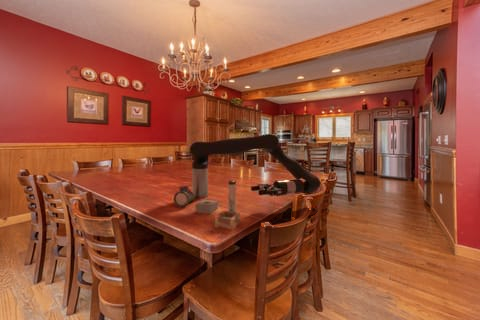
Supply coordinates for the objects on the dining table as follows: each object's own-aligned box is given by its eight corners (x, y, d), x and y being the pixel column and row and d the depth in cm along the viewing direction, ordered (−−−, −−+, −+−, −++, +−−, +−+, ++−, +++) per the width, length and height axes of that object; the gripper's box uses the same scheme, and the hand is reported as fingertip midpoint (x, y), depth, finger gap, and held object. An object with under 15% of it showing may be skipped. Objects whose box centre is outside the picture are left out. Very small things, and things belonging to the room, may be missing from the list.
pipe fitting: (187, 207, 108) (186, 186, 108) (173, 207, 109) (172, 187, 110) (197, 202, 119) (196, 184, 120) (184, 203, 121) (183, 185, 121)
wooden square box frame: (222, 219, 93) (222, 210, 92) (240, 221, 90) (240, 212, 90) (214, 226, 85) (214, 217, 85) (233, 229, 83) (233, 219, 82)
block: (203, 207, 109) (203, 199, 109) (217, 208, 107) (217, 201, 106) (195, 212, 102) (195, 204, 101) (210, 214, 99) (210, 205, 99)
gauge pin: (230, 213, 100) (230, 180, 98) (236, 214, 99) (236, 180, 97) (227, 216, 97) (227, 181, 95) (234, 217, 96) (234, 182, 94)
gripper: (276, 177, 113) (248, 180, 107) (292, 182, 99) (261, 186, 94) (276, 191, 113) (248, 194, 108) (292, 198, 100) (261, 202, 94)
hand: (254, 190), depth 101 cm, fingers open, 8 cm apart
